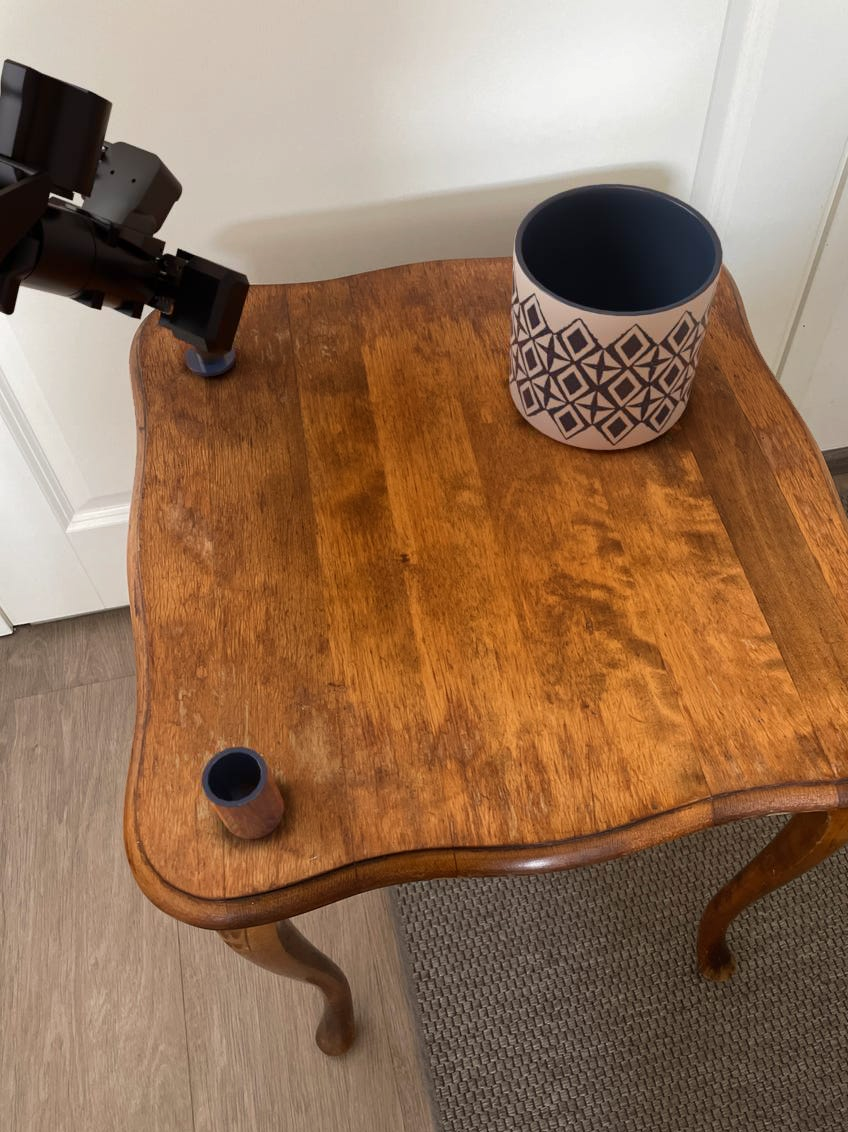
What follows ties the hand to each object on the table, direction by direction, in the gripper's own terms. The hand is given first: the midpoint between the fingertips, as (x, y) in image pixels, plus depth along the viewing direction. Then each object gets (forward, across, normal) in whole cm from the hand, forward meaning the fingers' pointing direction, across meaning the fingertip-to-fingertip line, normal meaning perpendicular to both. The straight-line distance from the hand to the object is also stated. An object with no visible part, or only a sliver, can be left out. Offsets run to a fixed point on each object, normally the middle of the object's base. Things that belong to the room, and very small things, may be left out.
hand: (204, 295), depth 80 cm
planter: (+14, -31, -5) cm, 35 cm away
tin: (-19, -29, +28) cm, 45 cm away
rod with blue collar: (+3, 0, +5) cm, 6 cm away
